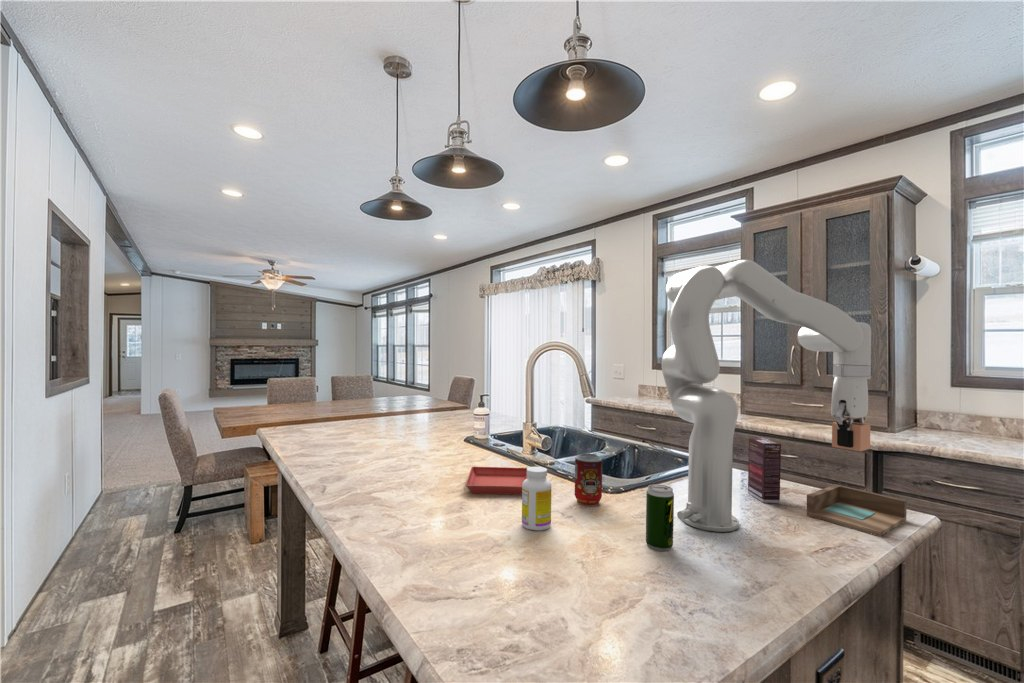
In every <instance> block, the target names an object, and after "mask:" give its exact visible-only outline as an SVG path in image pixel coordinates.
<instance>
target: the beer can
mask: <svg viewBox="0 0 1024 683" xmlns="http://www.w3.org/2000/svg"><path fill="white" fill-rule="evenodd" d="M673 490H674V489H673V487H671V486H670V485H664V484H659V483H658V484H657V483H656V484H655V483H653V484H649V485H648V486H647V490H646V496H645V497H646V500H645V501H646V504H645V505H646V507H645V508H646V509H645V544H646V545H647V547H648V548H649V549H651V550H653V551H657V552H669V551H671V550H672V548H673V546H674V519H675V518H674V514H675V513H674V511H675V509H674V508H675V507H674V506H675V503H674V502H675V493H674V491H673Z"/></svg>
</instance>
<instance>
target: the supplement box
mask: <svg viewBox="0 0 1024 683" xmlns="http://www.w3.org/2000/svg"><path fill="white" fill-rule="evenodd" d="M781 450H782V443H779V442H776V441H773V440H771V439H768V438H766V437H757V436H755V437H753V436H751V437H748V466H747V468H748V472H747V476H748V477H747V494H749V495H751V496H752V497H754V498H755V499H757V500H759V501H760V502H761V503H766V504H780V503H781V462H782V461H781V460H782V457H781V456H782V451H781Z"/></svg>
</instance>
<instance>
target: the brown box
mask: <svg viewBox="0 0 1024 683" xmlns="http://www.w3.org/2000/svg"><path fill="white" fill-rule="evenodd" d="M847 424H848V421H847ZM851 431H853V447H852V448H850V447H844V446H838V445H837V423H836V421H835V422H834V421H833V422H832V423H831V447H832V448H837V449H842V450H843V449H844V450H850V451H855V452H860V453H861V452H864V451H867V450H869V449H871V423H865V422H864V423H857V422H853V424H852V430H851Z"/></svg>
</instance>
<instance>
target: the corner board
mask: <svg viewBox="0 0 1024 683" xmlns="http://www.w3.org/2000/svg"><path fill="white" fill-rule="evenodd" d="M907 503H908V502H907V500H906V499H902V498H898V497H895V496H891V495H890V496H889V495H885V494H881V493H876V492H872V491H867V490H863V489H859V488H854V487H849V486H846V485H841V484H836V483H835V484H832V485H829V486H826V487H825V488H822V489H819V490H816V491H814V492H811V493H809V494H806V512H805V514H806V516H808V517H812V518H815V519H819V520H821V519H822V521H826V522H828V523H832V524H835V523H836V525H839V526H842V525H843V527H846V528H849V527H850V529H852V528H853V530H856V529H857V530H856V531H859V530H861V531H860V532H863V531H864V533H866V532H868V534H870V533H872V534H871V535H873V534H875V535H874V536H877V535H879V536H878V537H880V536H881V537H882V535H883V534H884V535H886V534H887V533H889V532H890V531H889V530H891V529H892V530H894V529H896V528H897V527H899V526H900V524H901V525H903V524H904V523H906V522H907V514H908V513H907V512H908V511H907V510H908V509H907V507H908V506H907V505H908V504H907ZM903 522H904V523H903ZM898 525H899V526H898ZM896 526H897V527H896ZM895 527H896V528H895ZM893 528H894V529H893ZM892 530H891V531H892ZM888 531H889V532H888ZM886 532H887V533H886ZM885 533H886V534H885ZM884 535H883V536H884Z"/></svg>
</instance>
